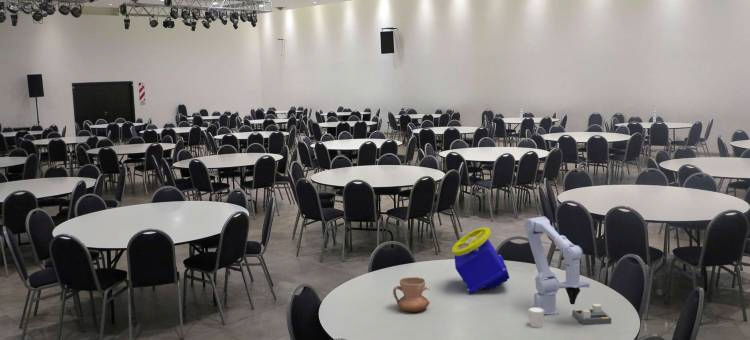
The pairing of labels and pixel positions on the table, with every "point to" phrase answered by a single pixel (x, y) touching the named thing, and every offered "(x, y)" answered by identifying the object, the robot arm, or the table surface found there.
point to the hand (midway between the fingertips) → (572, 303)
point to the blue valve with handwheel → (479, 261)
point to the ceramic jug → (412, 294)
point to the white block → (596, 308)
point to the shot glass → (536, 316)
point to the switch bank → (592, 317)
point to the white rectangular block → (586, 314)
